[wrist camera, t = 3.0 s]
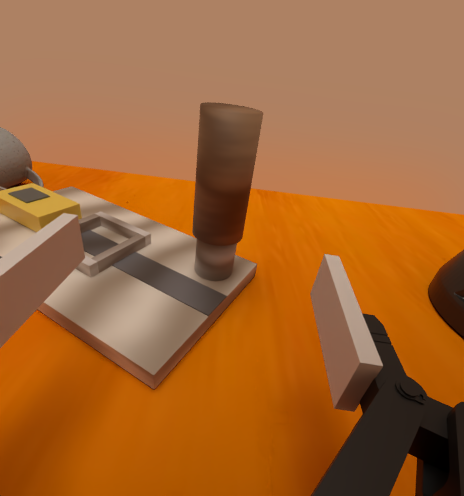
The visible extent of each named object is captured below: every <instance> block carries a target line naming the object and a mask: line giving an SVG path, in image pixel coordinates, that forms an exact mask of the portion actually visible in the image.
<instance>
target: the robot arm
mask: <svg viewBox="0 0 464 496" xmlns="http://www.w3.org/2000/svg"><path fill="white" fill-rule="evenodd" d="M84 259H85V254H84V248H83V242H82V236H81V230H80V225H79V219H78V215H73V214H67V213H63V214H62V215H60V216H59V217H57V218H56V219H55V220H53V221H52V222H50V223H49V224H48V225H46V226H45V227H43V228H42V229H41V230H39V231H38V232H37V233H35V234H34V235H32V236H31V237H30V238H28V239H27V240H25V241H24V242H23V243H21V244H20V245H18V246H17V247H16V248H14V249H13V250H11V251H10V252H9V253H7V254H6V255H5V256H3V257H1V256H0V348H1V347H2V346H3V345H4V344H5V342H6V341H7V340H8V339H9V338H10V337H11V336H12V335H13V334H14V333H15V332H16V331H17V330H18V329H19V328H20V327H21V326H22V324H23V323H24V322H25V321H26V320H27V319H28V318H29V317H30V316H31V315H32V314H33V313H34V312H35V311H36V310H37V309H38V308H39V306H40V305H41V304H42V303H43V302H44V301H45V300H46V299H47V298H48V297H49V296H50V295H51V294H52V293H53V292H54V291H55V290H56V288H57V287H58V286H59V285H60V284H61V283H62V282H63V281H64V280H65V279H66V278H67V277H68V276H69V275H70V274H71V273H72V272H73V271H74V269H75V268H76V267H77V266H78V265H79V264H80V263H81V262H82V261H83V260H84ZM429 296H430V299H431V301H432V303H433V305H434V306H435V308H436V309H437V311H438V312H439V313H440V315H441V316H442V317H443V318H444V319H445V320H446V321H447V322H448V323H449V325H451V326H452V327H453V328H454V329H455V330H456V331H457V332H458V333H459V334H461V335H462V336H463V337H464V250H463V251H461V252H460V253H459V254H457V255H456V256H455V257H453V258H452V259H451V260H449V261H448V262H447V263H445V264H444V265H443V266H442V267H441V268H440V269H439V271H438V272H437V274H436V275H435V277H434V279H433V280H432V282H431V283H430V285H429ZM311 299H312V304H313V309H314V314H315V319H316V323H317V328H318V333H319V338H320V343H321V347H322V352H323V357H324V362H325V367H326V372H327V376H328V381H329V386H330V391H331V396H332V400H333V405H334V408H335V409H341V410H347V411H353V412H354V411H355V410H356V408H357V407H358V405H359V403H360V405H361V408H362V412H363V415H362V416H361V418H360V419H359V421H358V422H357V424H356V425H355V427H354V428H353V430H352V432H351V433H350V435H349V437H348V438H347V440H346V441H345V443H344V444H343V446H342V447H341V449H340V451H339V452H338V454H337V455H336V457H335V458H334V460H333V462H332V463H331V465H330V466H329V468H328V469H327V471H326V472H325V474H324V476H323V477H322V479H321V480H320V482H319V483H318V485H317V487H316V488H315V490H314V491H313V493H312V494H311V496H389V495H390V493H391V491H392V488H393V486H394V484H395V481H396V479H397V477H398V474H399V472H400V470H401V468H402V465H403V463H404V461H405V458H406V456H407V454H408V453H409V454H411V455H413V456H415V457H417V472H416V493H415V496H464V402H460V403H459V404H457V405H456V406H455V407H454V408H452V407H450V406H448V405H445V404H443V403H441V402H438V401H436V400H434V399H432V398H430V397H428V396H427V394H426V392H425V391H424V390H423V388H422V387H421V386H420V385H419V384H418V383H417V382H416V381H414V380H413V379H411V378H409V377H408V376H407V375H406V373H405V371H404V369H403V367H402V365H401V363H400V361H399V358H398V356H397V354H396V352H395V350H394V348H393V345H391V341H390V339H389V337H387V333H386V330H385V328H384V326H383V324H382V323H381V322H380V321H379V320H378V319H377V318H376V317H375V316H374V315H368V314H362V312H361V310H360V307H359V305H358V302H357V300H356V297H355V295H354V292H353V290H352V287H351V285H350V282H349V280H348V277H347V275H346V272H345V270H344V267H343V265H342V262H341V260H340V257H339V256H334V255H327V254H324V257H323V260H322V263H321V265H320V268H319V271H318V274H317V277H316V280H315V282H314V285H313V288H312V291H311Z"/></svg>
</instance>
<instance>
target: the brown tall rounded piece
mask: <svg viewBox="0 0 464 496" xmlns="http://www.w3.org/2000/svg"><path fill="white" fill-rule="evenodd" d="M262 117H263V112H262V111H259V110H256V109H253V108H248V107H244V106H238V105H231V104H223V103H201V105H200V122H199V138H198V154H197V168H196V184H195V200H194V216H193V235H194V236H195V237H196V238H197V241H196V254H195V272H196V274H197V275H198V276H200V277H201V278H203V279H206V280H210V281H221V280H225V279H227V278H228V277H230V276H231V274H232V270H233V264H234V258H235V251H236V245H237V243H238V242H239V241H240V240H241V239H242V236H243V230H244V224H245V218H246V213H247V207H248V201H249V195H250V189H251V183H252V176H253V171H254V165H255V159H256V153H257V147H258V141H259V135H260V129H261V123H262Z"/></svg>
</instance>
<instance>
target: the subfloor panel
mask: <svg viewBox="0 0 464 496" xmlns="http://www.w3.org/2000/svg"><path fill="white" fill-rule="evenodd" d="M53 192H54V193H57V194H59V195H61V196H63V197H66V198H68V199H70V200H72V201H75V202H77V203H79V204H80V209H81V215H82V219H79V225H80V230H81V236H82V242H83V248H84V254H85V259H84V260H83V261H82V262H81V263H80V264H79V265H78V266H77V267H76V268H75V269H74V271H73V272H72V273H71V274H70V275H69V276H68V277H67V278H66V279H65V280H64V281H63V282H62V283H61V284H60V285H59V286H58V287H57V288H56V290H55V291H54V292H53V293H52V294H51V295H50V296H49V297H48V298H47V299H46V300H45V301H44V302H43V303H42V304H41V305H40V306H39V308H38V310H39V311H41V312H42V313H43V314H45V315H46V316H48V317H49V318H51V319H52V320H54V321H55V322H57V323H58V324H59V325H61V326H62V327H64V328H65V329H67V330H68V331H70V332H71V333H73V334H74V335H75V336H77V337H78V338H80V339H81V340H83V341H84V342H86V343H87V344H88V345H90V346H91V347H93V348H94V349H96V350H97V351H99V352H100V353H102V354H103V355H104V356H106V357H107V358H109V359H110V360H112V361H113V362H115V363H116V364H118V365H119V366H120V367H122V368H123V369H125V370H126V371H128V372H129V373H131V374H132V375H134V376H135V377H136V378H138V379H139V380H141V381H142V382H144V383H145V384H147V385H148V386H150V387H151V388H152V389H155V388H156V387H157V386H158V385H159V384H160V383H161V381H162V380H163V379H164V378H165V377H166V376H167V375H168V373H169V372H170V371H171V370H172V369H173V368H174V367H175V366H176V364H177V363H178V362H179V361H180V360H181V359H182V358H183V357H184V355H185V354H186V353H187V352H188V351H189V350H190V349H191V347H192V346H193V345H194V344H195V343H196V342H197V341H198V340H199V338H200V337H201V336H202V335H203V334H204V333H205V332H206V331H207V329H208V328H209V327H210V326H211V325H212V324H213V323H214V321H215V320H216V319H217V318H218V317H219V316H220V315H221V314H222V312H223V311H224V310H225V309H226V308H227V307H228V306H229V304H230V303H231V302H232V301H233V300H234V299H235V298H236V297H237V295H238V294H239V293H240V292H241V291H242V290H243V289H244V288H245V286H246V285H247V284H248V283H249V282H250V281H251V280H252V278H253V277H254V276H255V272H256V268H257V264H256V263H253V262H251V261H249V260H246V259H244V258H241V257H239V256H237V255H235V258H234V264H233V270H232V274H231V276H230V277H228V278H227V279H225V280H221V281H210V280H206V279H203V278H201V277H200V276H198V275H197V274H196V272H195V254H196V241H197V239H196V238H194V237H191V236H189V235H186V234H184V233H182V232H179V231H177V230H175V229H172V228H170V227H167V226H165V225H163V224H160V223H158V222H155V221H153V220H151V219H148V218H146V217H143V216H141V215H139V214H136V213H134V212H132V211H129V210H127V209H124V208H122V207H120V206H117V205H115V204H112V203H110V202H108V201H105V200H103V199H100V198H98V197H96V196H93V195H91V194H89V193H86V192H84V191H81V190H79V189H77V188H74V187H68V188H64V189H61V190H57V191H53ZM35 233H37V232H35V231H33V230H31V229H30V228H28V227H26V226H24V225H22V224H20V223H18V222H16V221H15V220H13V219H11V218H9V217H7V216H5V215H3V214H2V213H0V256H1V257H3V256H5V255H6V254H7V253H9V252H10V251H11V250H13V249H14V248H16V247H17V246H18V245H20V244H21V243H23V242H24V241H25V240H27V239H28V238H30V237H31V236H32V235H34V234H35Z"/></svg>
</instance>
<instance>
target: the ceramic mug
mask: <svg viewBox="0 0 464 496" xmlns="http://www.w3.org/2000/svg"><path fill="white" fill-rule="evenodd" d="M27 179H29V180H31V181H32V182H33V183H34V184H36V185H39V186H41V187H43V186H44V185H43V182H42V180H41V178H40V177H39V176H38V175H37V174H36V173H35V172H34V171H32V162H31V158H30V155H29V153H28V151H27V150H26V148H25V147H24V145H23V144H22V143H21V142H20V140H19V139H17V138H16V137H15V136H14V135H13V134H11V133H10V132H9V131H7V130H5V129H3V128H1V127H0V191H1V190H5V189H7V188H10V187H12V186H14V185H17V184H19V183H21V182H23V181H25V180H27Z"/></svg>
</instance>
